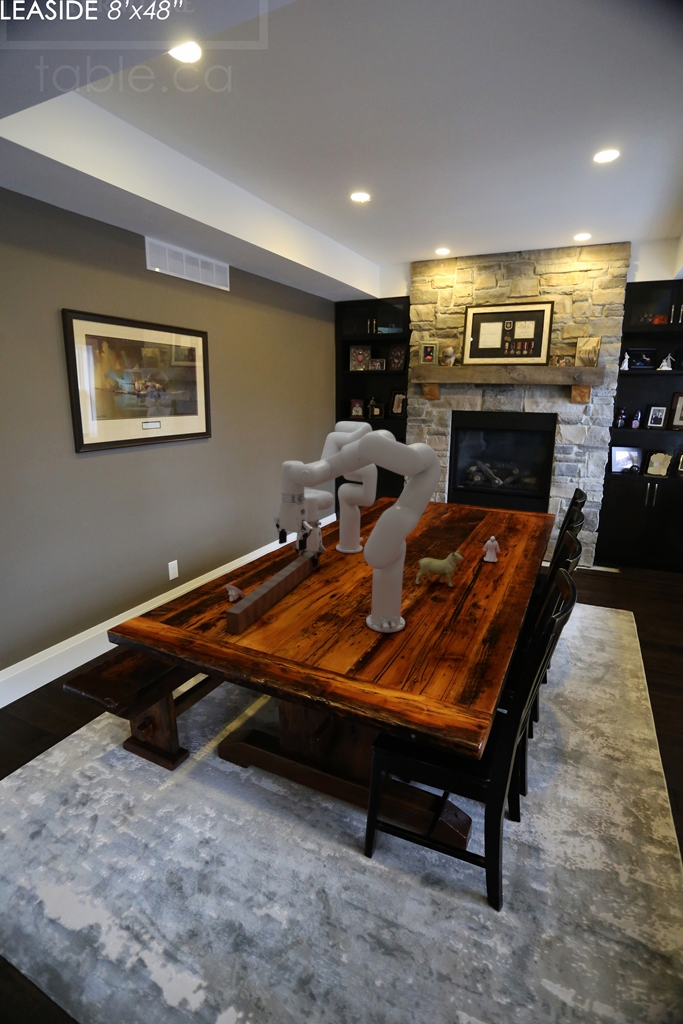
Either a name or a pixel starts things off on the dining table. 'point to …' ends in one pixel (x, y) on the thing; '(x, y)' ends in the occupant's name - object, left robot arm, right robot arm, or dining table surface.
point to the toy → (439, 567)
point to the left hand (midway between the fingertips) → (308, 565)
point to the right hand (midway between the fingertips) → (292, 546)
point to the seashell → (234, 592)
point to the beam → (268, 593)
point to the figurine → (491, 550)
